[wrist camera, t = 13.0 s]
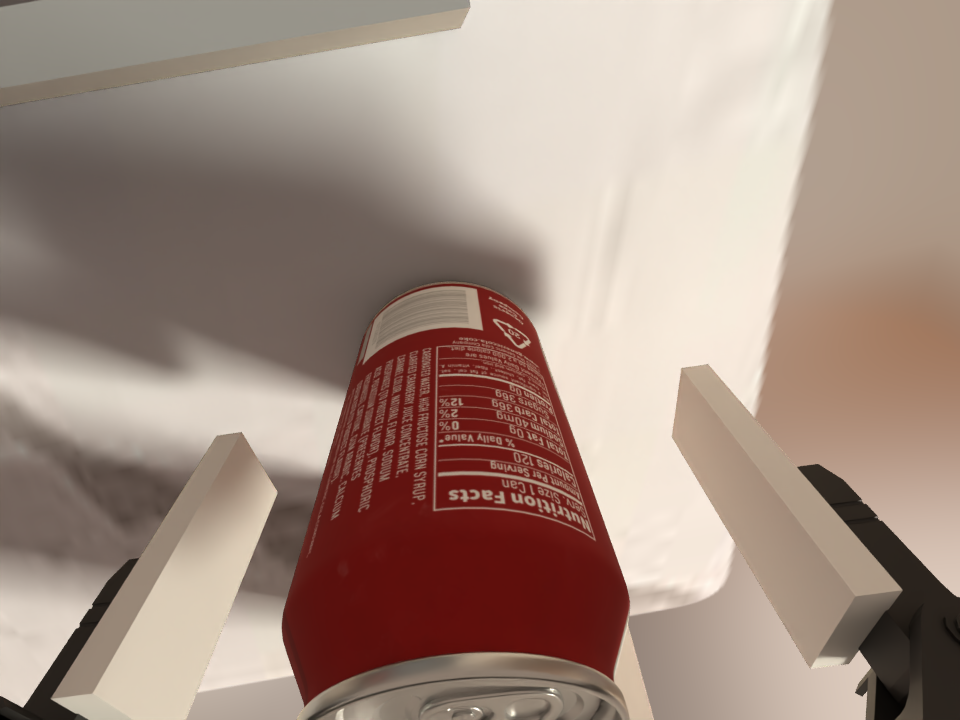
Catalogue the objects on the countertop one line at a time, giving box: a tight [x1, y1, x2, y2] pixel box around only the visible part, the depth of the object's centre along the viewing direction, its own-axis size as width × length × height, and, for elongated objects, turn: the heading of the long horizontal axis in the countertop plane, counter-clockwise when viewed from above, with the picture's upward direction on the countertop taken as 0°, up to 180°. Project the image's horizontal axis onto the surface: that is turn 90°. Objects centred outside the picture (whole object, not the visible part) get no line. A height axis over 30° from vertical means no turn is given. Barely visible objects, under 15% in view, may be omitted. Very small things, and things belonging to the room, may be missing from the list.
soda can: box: [282, 281, 630, 720], centre depth 12 cm, size 7×7×12 cm
